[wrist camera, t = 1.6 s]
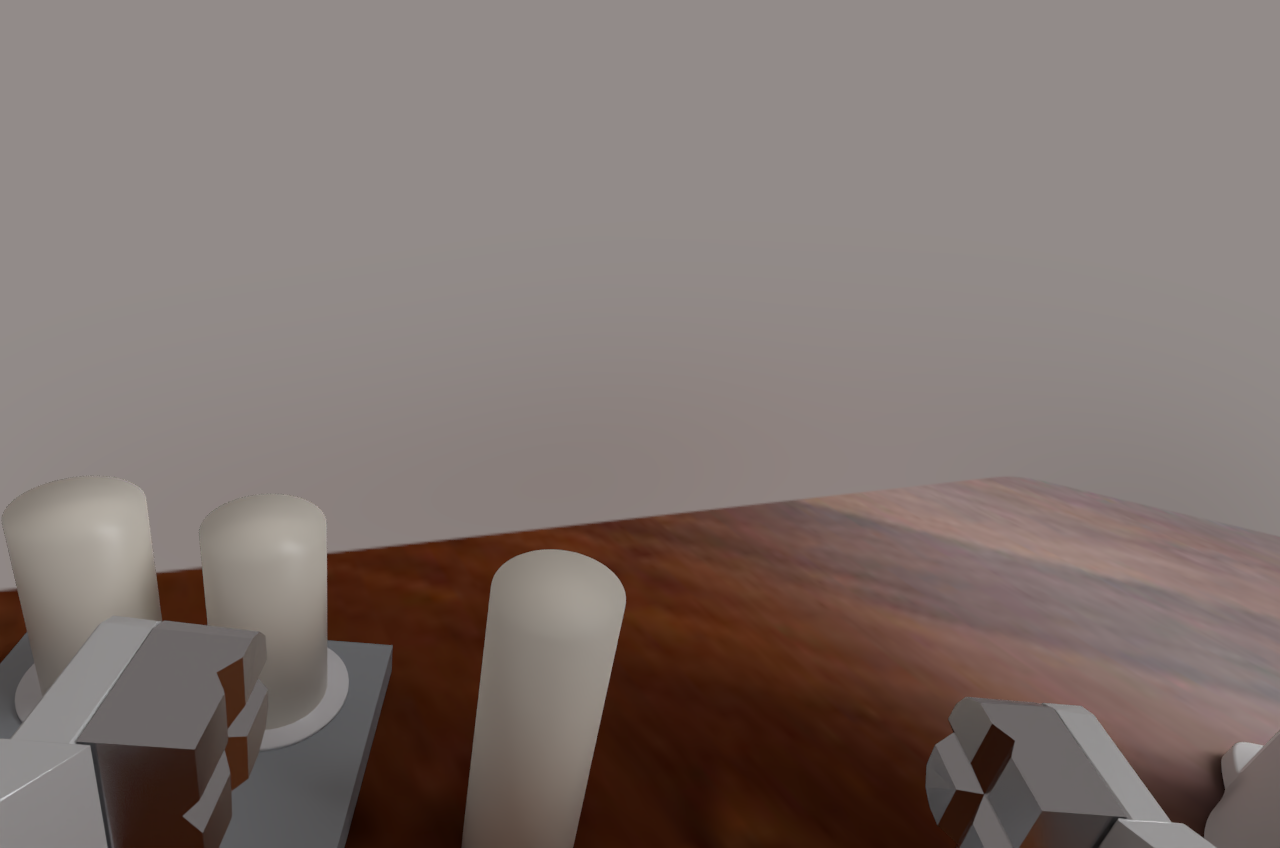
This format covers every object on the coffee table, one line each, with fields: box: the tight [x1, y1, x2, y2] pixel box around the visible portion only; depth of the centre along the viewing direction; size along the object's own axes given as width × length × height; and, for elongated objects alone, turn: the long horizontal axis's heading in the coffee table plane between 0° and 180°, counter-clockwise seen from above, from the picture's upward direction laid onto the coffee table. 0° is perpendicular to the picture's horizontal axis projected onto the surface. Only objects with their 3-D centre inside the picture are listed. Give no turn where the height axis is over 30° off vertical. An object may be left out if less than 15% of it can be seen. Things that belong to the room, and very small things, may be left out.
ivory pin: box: [461, 550, 626, 848], centre depth 27 cm, size 4×4×12 cm
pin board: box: [0, 476, 393, 848], centre depth 25 cm, size 14×16×10 cm
